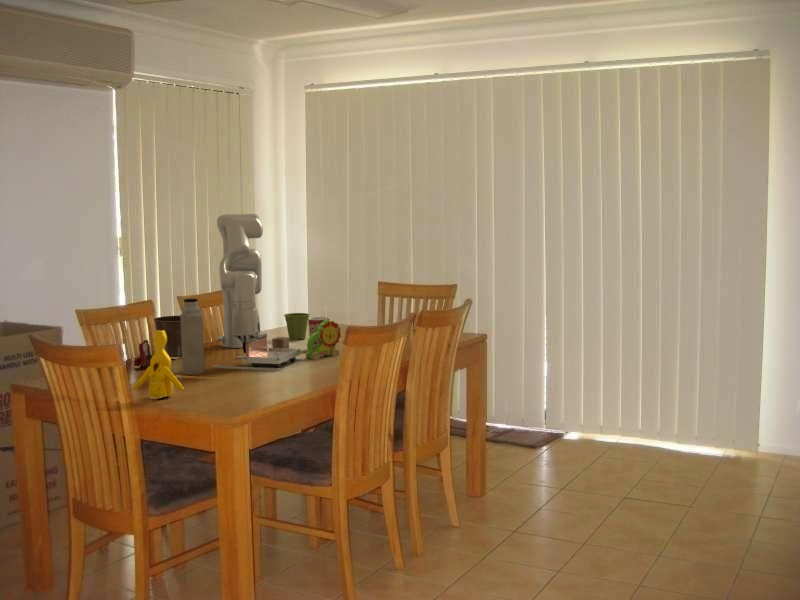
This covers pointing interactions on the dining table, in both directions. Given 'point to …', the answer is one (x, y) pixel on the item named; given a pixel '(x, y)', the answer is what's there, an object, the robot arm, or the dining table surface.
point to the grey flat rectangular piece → (251, 367)
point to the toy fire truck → (144, 354)
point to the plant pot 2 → (296, 325)
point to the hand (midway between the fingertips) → (247, 352)
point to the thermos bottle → (192, 338)
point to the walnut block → (280, 342)
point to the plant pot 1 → (171, 334)
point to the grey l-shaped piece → (267, 352)
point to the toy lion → (324, 340)
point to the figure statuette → (159, 370)
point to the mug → (315, 327)
